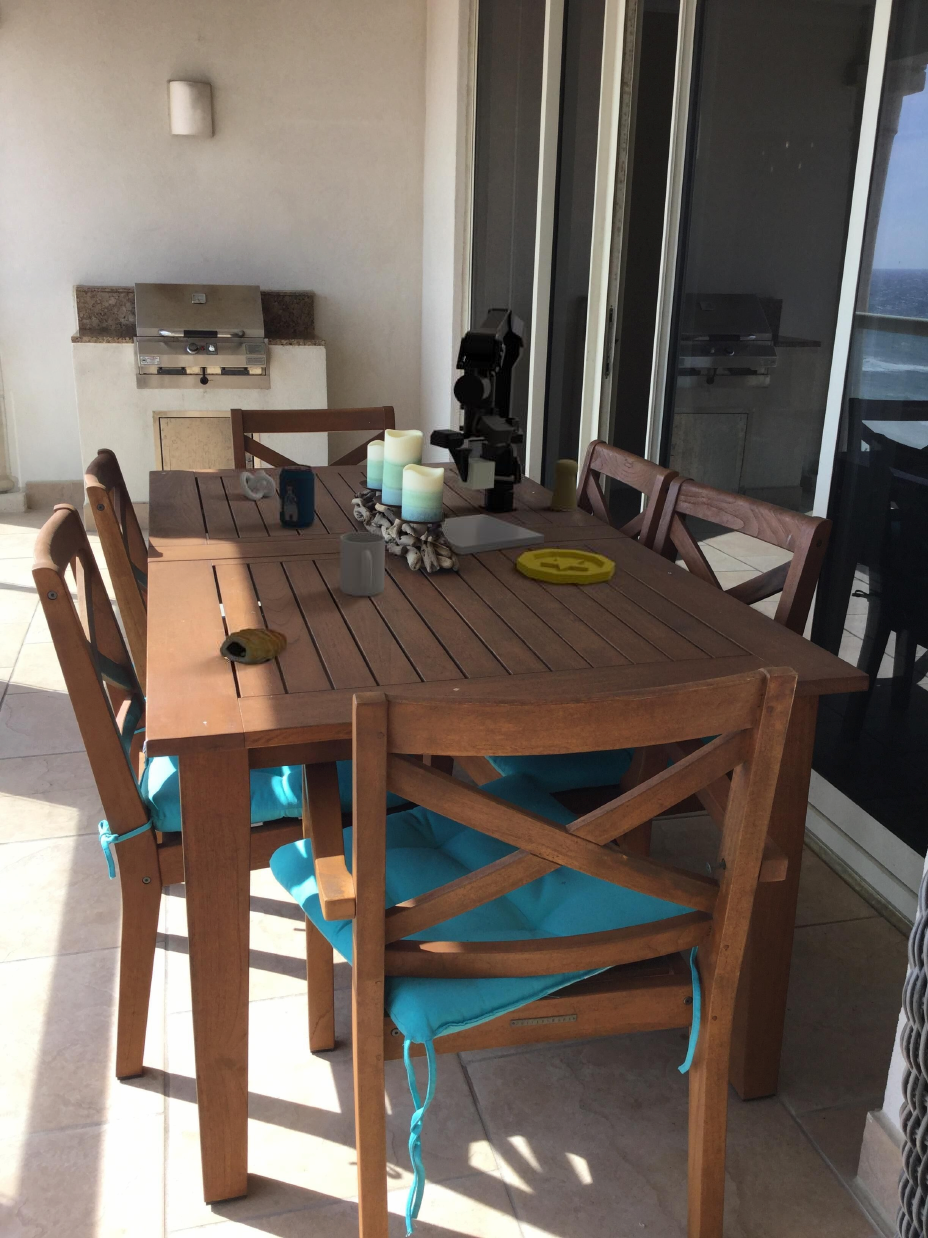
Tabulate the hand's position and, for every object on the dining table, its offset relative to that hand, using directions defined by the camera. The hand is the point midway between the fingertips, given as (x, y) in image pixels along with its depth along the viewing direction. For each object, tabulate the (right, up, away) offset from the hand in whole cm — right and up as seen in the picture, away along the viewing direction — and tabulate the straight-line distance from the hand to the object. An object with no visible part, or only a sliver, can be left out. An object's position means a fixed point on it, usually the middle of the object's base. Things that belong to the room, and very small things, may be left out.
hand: (475, 480), depth 205 cm
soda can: (-36, -8, +6) cm, 37 cm away
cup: (-19, -23, -35) cm, 45 cm away
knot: (-49, 0, +30) cm, 57 cm away
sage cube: (0, -1, 0) cm, 1 cm away
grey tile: (-1, -11, +4) cm, 11 cm away
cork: (+20, -2, +32) cm, 38 cm away
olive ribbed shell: (-31, -32, -63) cm, 77 cm away
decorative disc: (+16, -19, -16) cm, 30 cm away
